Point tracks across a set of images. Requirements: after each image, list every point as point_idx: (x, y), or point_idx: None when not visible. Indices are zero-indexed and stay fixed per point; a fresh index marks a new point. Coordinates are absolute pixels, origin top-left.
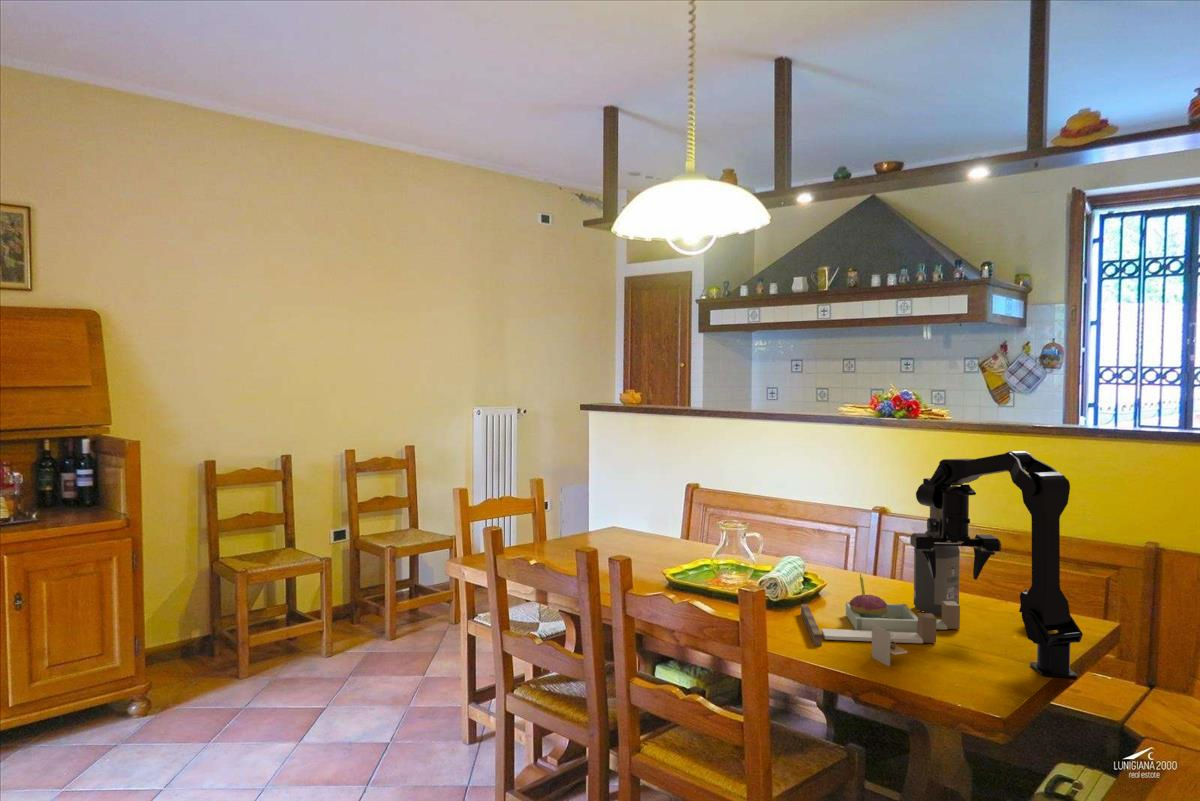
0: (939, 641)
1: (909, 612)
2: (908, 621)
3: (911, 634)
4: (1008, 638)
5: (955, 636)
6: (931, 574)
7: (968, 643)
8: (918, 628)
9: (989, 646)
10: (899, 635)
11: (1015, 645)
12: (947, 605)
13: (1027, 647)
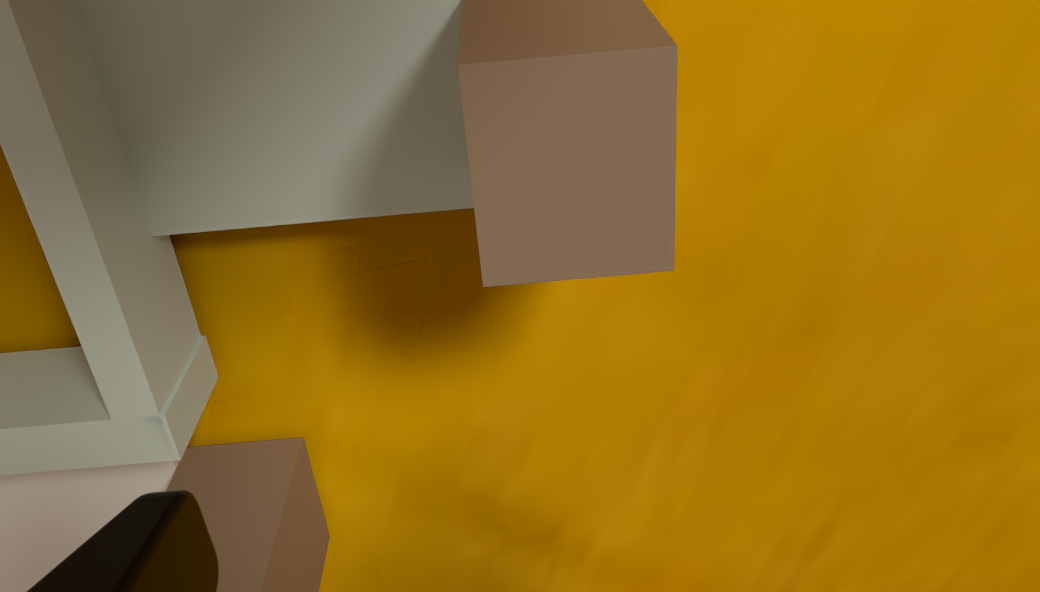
0: (366, 465)
1: (21, 172)
2: (51, 466)
3: (124, 499)
4: (1004, 279)
5: (529, 324)
6: (95, 543)
7: (592, 462)
8: None
9: (735, 490)
10: (26, 540)
11: (958, 432)
12: (497, 281)
13: (1028, 454)
